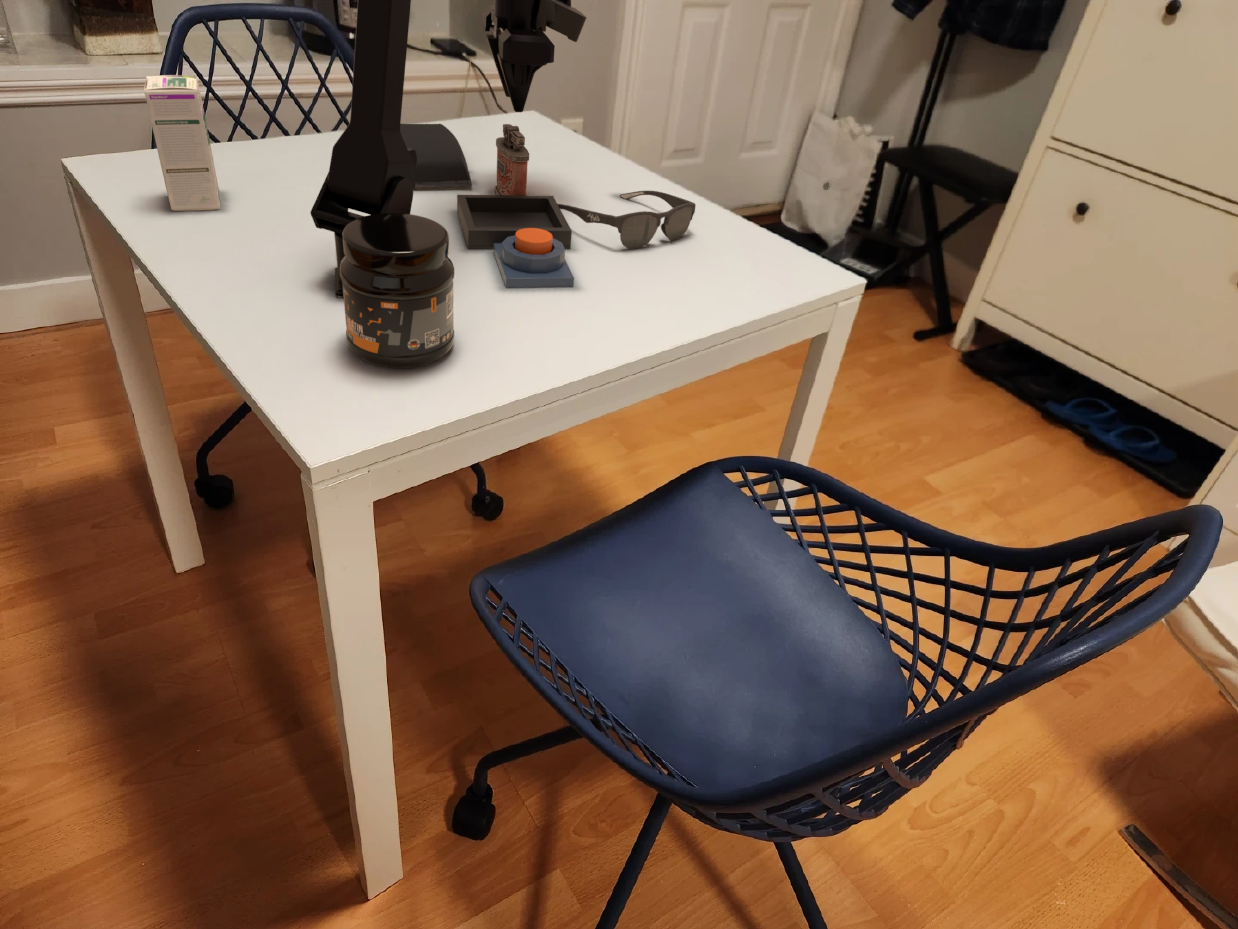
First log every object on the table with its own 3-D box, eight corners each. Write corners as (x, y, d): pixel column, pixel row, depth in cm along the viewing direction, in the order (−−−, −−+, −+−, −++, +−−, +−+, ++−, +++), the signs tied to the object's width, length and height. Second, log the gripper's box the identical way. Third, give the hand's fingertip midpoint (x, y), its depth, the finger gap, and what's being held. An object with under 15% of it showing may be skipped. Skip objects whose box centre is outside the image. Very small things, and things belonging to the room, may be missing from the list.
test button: (555, 256, 101) (556, 242, 100) (518, 256, 100) (518, 242, 99) (548, 241, 105) (548, 227, 104) (512, 241, 104) (512, 227, 103)
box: (573, 287, 101) (575, 263, 100) (505, 288, 99) (506, 263, 97) (556, 251, 109) (558, 229, 107) (493, 252, 107) (493, 228, 105)
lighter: (490, 190, 124) (491, 118, 118) (512, 189, 125) (514, 117, 119) (508, 211, 118) (511, 137, 112) (532, 210, 119) (535, 136, 113)
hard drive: (383, 190, 119) (381, 161, 116) (366, 145, 133) (365, 118, 131) (477, 189, 123) (477, 160, 121) (451, 145, 137) (451, 119, 135)
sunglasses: (614, 256, 109) (617, 217, 107) (537, 223, 120) (537, 186, 117) (705, 237, 119) (710, 201, 116) (626, 208, 129) (628, 173, 127)
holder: (570, 249, 110) (572, 230, 109) (468, 249, 107) (468, 230, 105) (552, 213, 119) (553, 195, 118) (457, 212, 116) (457, 194, 114)
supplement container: (331, 331, 87) (320, 217, 80) (429, 313, 92) (426, 204, 85) (369, 382, 80) (360, 262, 73) (472, 360, 86) (473, 246, 79)
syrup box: (221, 209, 108) (200, 87, 99) (169, 211, 106) (142, 87, 97) (219, 193, 112) (199, 74, 103) (169, 194, 110) (144, 73, 101)
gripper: (601, -12, 99) (589, 127, 109) (567, -38, 113) (559, 87, 123) (505, -19, 96) (501, 124, 106) (482, -45, 111) (481, 83, 120)
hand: (514, 103), depth 114 cm, fingers open, 7 cm apart
